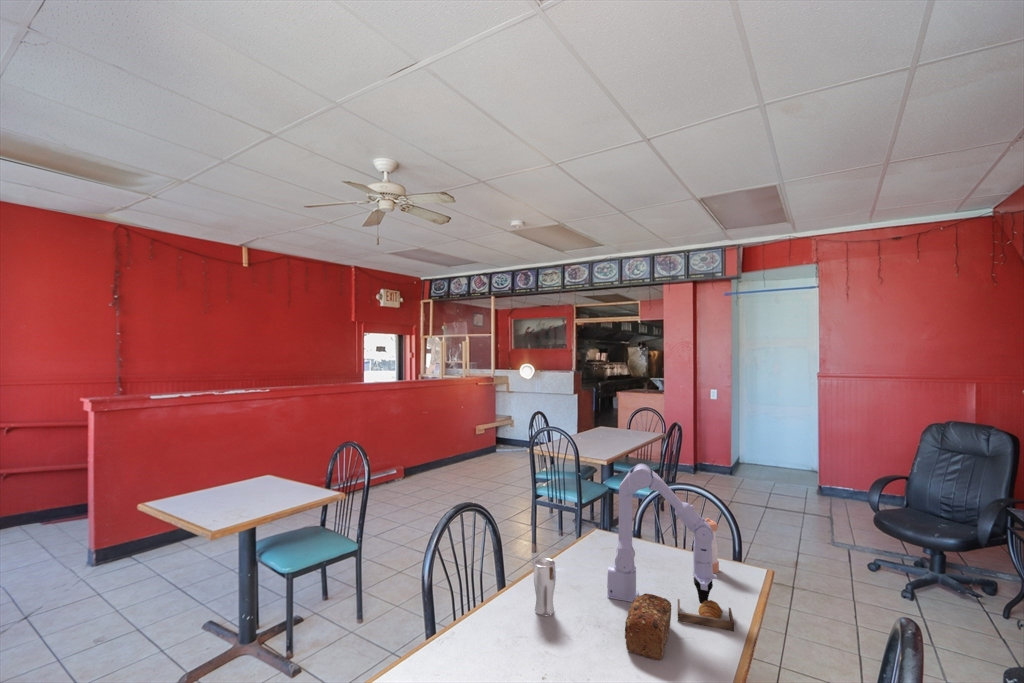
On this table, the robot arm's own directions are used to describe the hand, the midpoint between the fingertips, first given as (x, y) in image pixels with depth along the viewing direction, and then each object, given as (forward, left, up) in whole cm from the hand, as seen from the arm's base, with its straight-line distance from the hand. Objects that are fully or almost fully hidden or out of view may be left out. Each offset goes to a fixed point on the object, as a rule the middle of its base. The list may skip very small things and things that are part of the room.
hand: (703, 603), depth 150 cm
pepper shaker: (+3, +31, -1) cm, 31 cm away
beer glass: (-48, -20, -1) cm, 52 cm away
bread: (-16, -24, -2) cm, 29 cm away
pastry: (+2, -6, -2) cm, 6 cm away
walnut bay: (0, -7, -1) cm, 7 cm away
